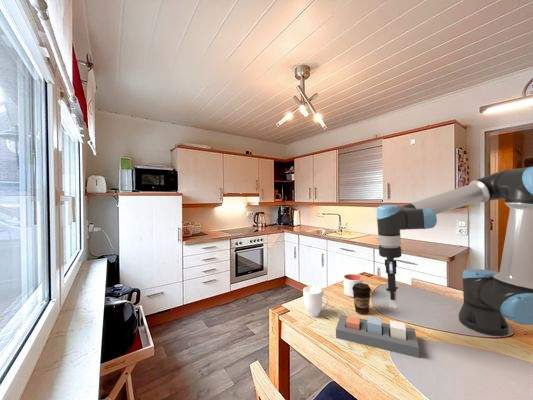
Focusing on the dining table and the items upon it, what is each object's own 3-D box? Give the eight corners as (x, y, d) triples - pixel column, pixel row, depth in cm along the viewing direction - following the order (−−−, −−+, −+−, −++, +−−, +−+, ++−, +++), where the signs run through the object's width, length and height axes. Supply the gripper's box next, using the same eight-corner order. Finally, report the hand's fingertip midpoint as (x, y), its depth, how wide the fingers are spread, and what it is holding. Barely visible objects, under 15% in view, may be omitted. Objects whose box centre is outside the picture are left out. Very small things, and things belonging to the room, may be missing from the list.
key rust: (360, 329, 95) (360, 318, 94) (359, 336, 90) (359, 324, 90) (348, 326, 97) (347, 315, 97) (346, 333, 92) (345, 321, 92)
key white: (405, 335, 87) (404, 322, 87) (406, 342, 83) (405, 330, 83) (390, 332, 89) (389, 320, 89) (390, 339, 85) (390, 326, 85)
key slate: (381, 330, 91) (381, 318, 91) (381, 337, 86) (381, 325, 86) (368, 327, 93) (367, 316, 93) (367, 334, 89) (367, 322, 89)
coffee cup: (374, 317, 104) (372, 289, 104) (354, 316, 106) (353, 288, 106) (369, 307, 113) (368, 282, 113) (351, 307, 115) (350, 281, 114)
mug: (305, 319, 105) (304, 293, 105) (303, 310, 114) (301, 286, 114) (330, 318, 105) (329, 292, 105) (326, 309, 114) (325, 285, 114)
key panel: (414, 337, 89) (414, 328, 89) (419, 357, 78) (419, 347, 78) (340, 322, 102) (340, 314, 101) (336, 337, 91) (335, 329, 91)
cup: (340, 292, 131) (339, 275, 131) (354, 289, 134) (354, 273, 134) (351, 300, 122) (351, 281, 122) (367, 296, 125) (366, 278, 125)
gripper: (379, 241, 94) (382, 297, 94) (378, 249, 82) (381, 313, 83) (399, 242, 90) (403, 300, 91) (402, 250, 79) (405, 317, 79)
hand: (393, 306), depth 87 cm, fingers closed
